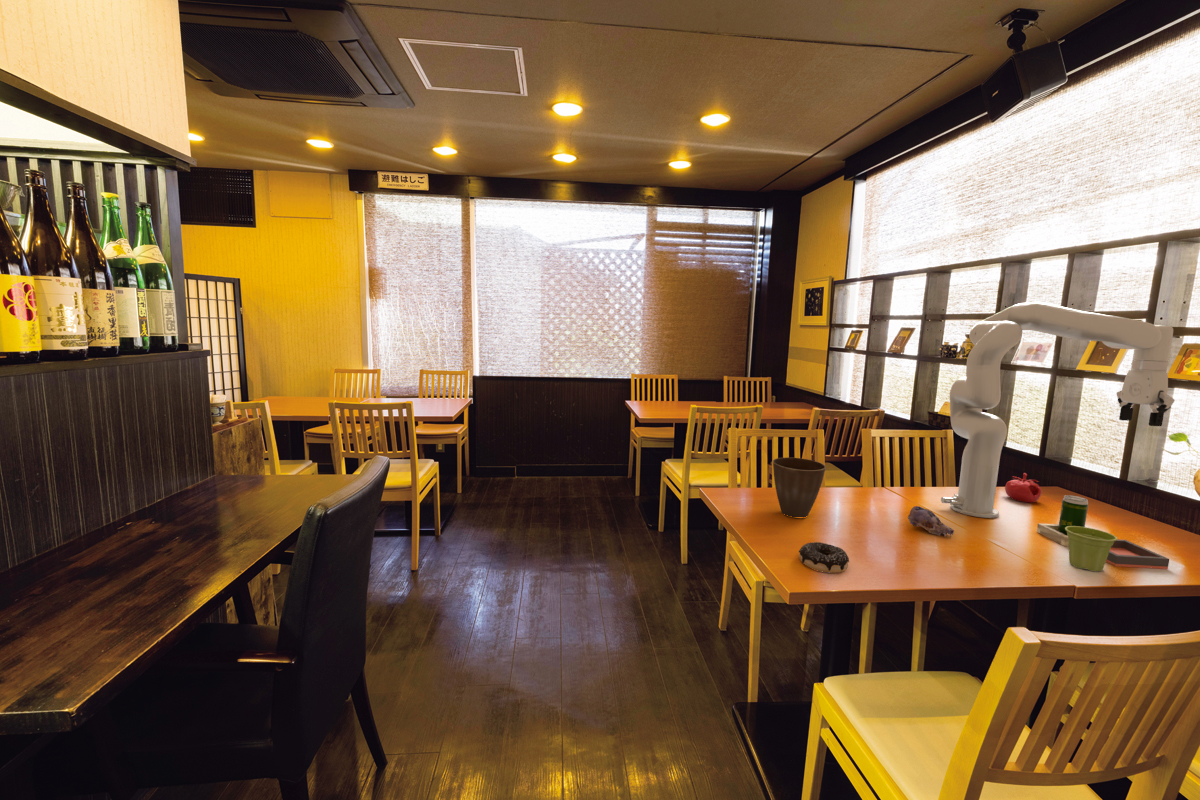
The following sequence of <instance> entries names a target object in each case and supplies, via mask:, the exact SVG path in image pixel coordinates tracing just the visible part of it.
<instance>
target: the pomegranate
mask: <svg viewBox="0 0 1200 800" xmlns="http://www.w3.org/2000/svg"><path fill="white" fill-rule="evenodd" d="M1027 476H1028V474H1027V473H1026V472H1023V475H1022V478H1021V477H1017V476H1015V475H1013V476H1012V475H1011V477H1012V479H1011V480H1009V481H1007V482H1006V483H1005V486H1004V490H1005V493H1006V495H1007V496H1008V497H1009V498H1010V499H1011V500H1012V501H1018V502H1022V503H1028V504H1031V503H1035V502H1037V501H1039V500H1040V498H1041V496H1042V494H1043V493H1042V488H1041V487H1040V485H1039V484H1038V482H1040V481H1038V480H1036V479H1027ZM1035 482H1036V483H1035Z"/></svg>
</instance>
